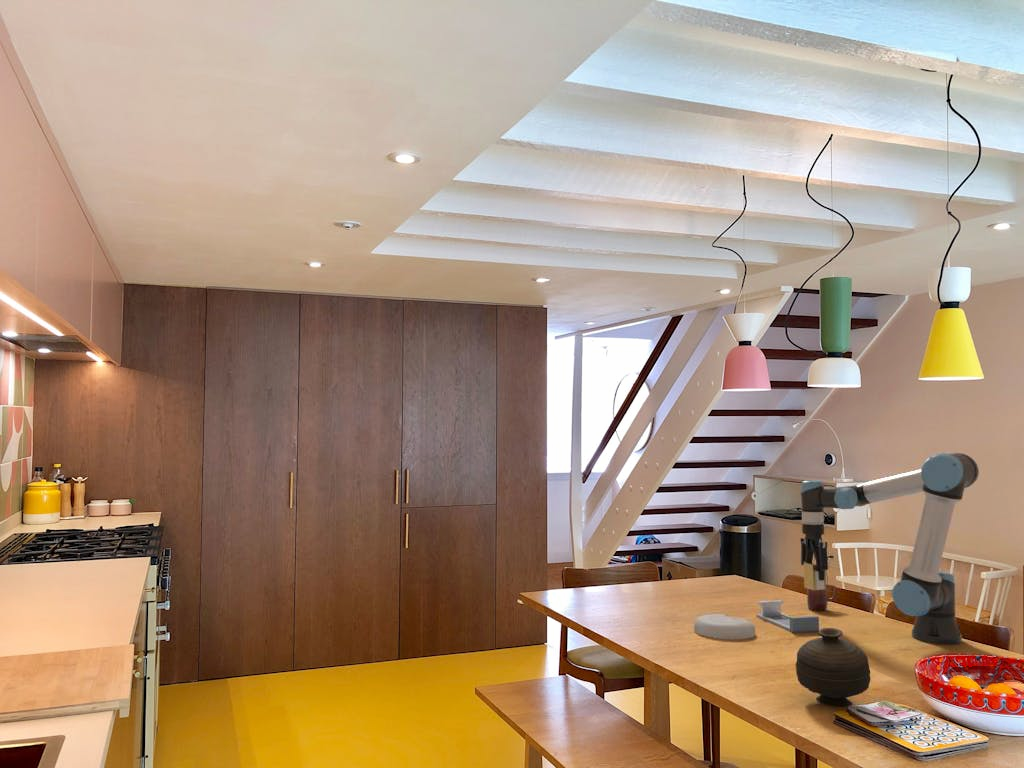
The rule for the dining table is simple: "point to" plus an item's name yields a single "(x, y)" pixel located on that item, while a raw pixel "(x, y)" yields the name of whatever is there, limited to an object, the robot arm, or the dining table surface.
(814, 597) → the mug
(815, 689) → the pot
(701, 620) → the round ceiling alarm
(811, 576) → the brass block
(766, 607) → the slide jaw
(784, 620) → the vise body
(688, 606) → the dining table surface
